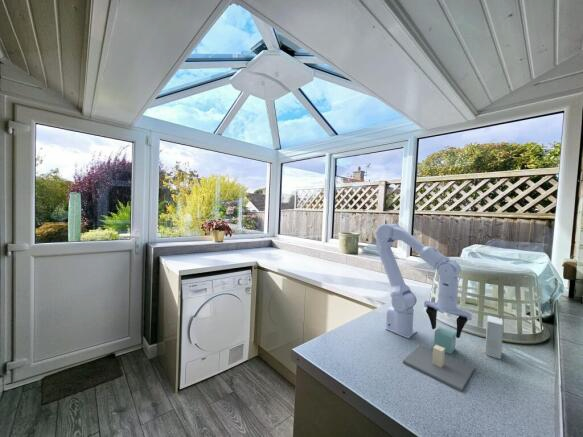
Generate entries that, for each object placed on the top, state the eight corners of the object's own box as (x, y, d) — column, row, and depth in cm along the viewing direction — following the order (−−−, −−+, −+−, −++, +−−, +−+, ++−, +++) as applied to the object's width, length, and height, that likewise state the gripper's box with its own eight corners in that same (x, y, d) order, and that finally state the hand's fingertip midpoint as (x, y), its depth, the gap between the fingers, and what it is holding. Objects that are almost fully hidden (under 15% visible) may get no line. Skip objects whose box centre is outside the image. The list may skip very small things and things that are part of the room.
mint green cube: (433, 347, 88) (434, 331, 87) (438, 342, 91) (439, 326, 91) (450, 354, 84) (451, 337, 83) (455, 348, 87) (456, 332, 87)
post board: (402, 362, 79) (403, 344, 78) (420, 346, 88) (421, 330, 88) (461, 391, 67) (463, 370, 66) (474, 369, 76) (475, 351, 76)
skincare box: (485, 347, 89) (487, 314, 88) (500, 351, 86) (503, 318, 86) (484, 354, 84) (487, 320, 84) (501, 359, 81) (503, 324, 81)
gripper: (421, 291, 89) (419, 328, 90) (469, 304, 78) (467, 345, 79) (428, 287, 94) (426, 322, 95) (474, 299, 83) (472, 337, 84)
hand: (445, 332), depth 87 cm, fingers open, 7 cm apart
